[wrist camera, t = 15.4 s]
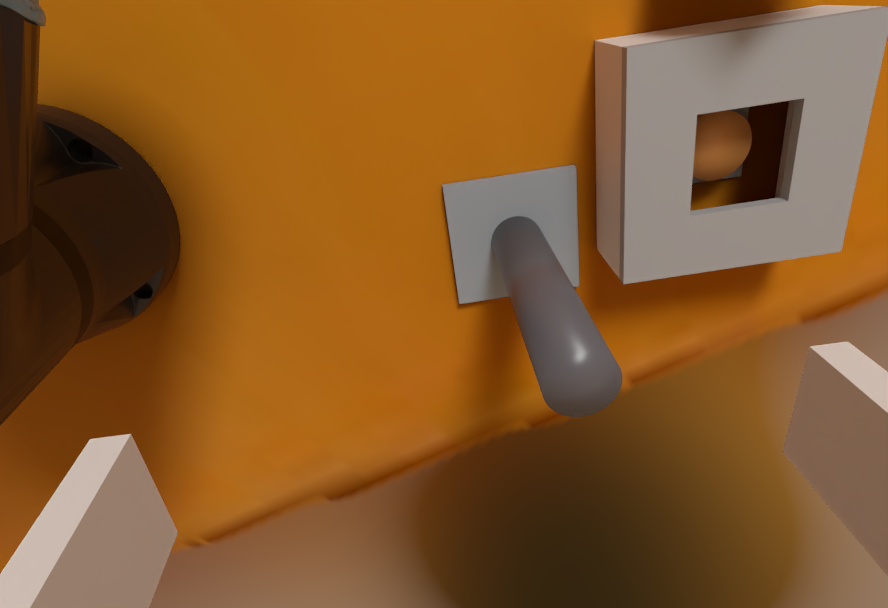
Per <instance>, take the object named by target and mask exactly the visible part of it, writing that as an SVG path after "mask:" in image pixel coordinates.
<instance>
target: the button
mask: <svg viewBox="0 0 888 608" xmlns="http://www.w3.org/2000/svg"><path fill="white" fill-rule="evenodd" d="M751 143H752V132H751V128H750V125H749V123H748V121H747V120H746V119H745V118H744V117H743V116H742V115H741V114H739V113H737V112H734V111H731V110H725V111H718V112H712V113H705V114H699V115H697V125H696V138H695V152H694V166H693V176H694V177H696V178H698V179H701V180H706V181H712V180H718V179H721V178H724V177H726V176H728V175H729V174H731V173H732V172H734V171H735V170H736V169H737V168H738V167H739V166H740V165H741V164H742V163H743V161H744V160H745V158H746V157H747V155H748V153H749V150H750V147H751Z"/></svg>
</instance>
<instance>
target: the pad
mask: <svg viewBox="0 0 888 608" xmlns="http://www.w3.org/2000/svg"><path fill="white" fill-rule="evenodd" d="M442 187H443V194H444V201H445V208H446V215H447V222H448V229H449V236H450V243H451V250H452V257H453V264H454V271H455V278H456V285H457V292H458V299H459V304H464V303H470V302H477V301H484V300H490V299H497V298H503V297H509V295H508V292H507V289H506V287H505V284H504V281H503V278H502V275H501V272H500V269H499V266H498V263H497V260H496V257H495V254H494V252H493V249H492V243H491V240H492V235H493V232H494V230H495V229H496V227H497V226H498V225H499V224H500V223H501V222H502V221H504V220H506V219H508V218H511V217H515V216H523V217H527V218H530V219H532V220H533V221H534V222H535V223H536V224H537V225H538V226H539V228H540V229H541V231H542V233H543V235H544V236H545V238H546V240H547V242H548V243H549V245H550V247H551V249H552V250H553V252H554V254H555V256H556V257H557V259H558V261H559V263H560V264H561V266H562V268H563V270H564V271H565V273H566V275H567V277H568V278H569V280H570V282H571V283H572V285H573V287H576V286H579V254H578V216H577V178H576V166H575V165H568V166H561V167H554V168H548V169H541V170H535V171H528V172H522V173H515V174H509V175H502V176H496V177H489V178H483V179H476V180H470V181H463V182H457V183H450V184H444V185H442Z"/></svg>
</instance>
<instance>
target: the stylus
mask: <svg viewBox="0 0 888 608" xmlns="http://www.w3.org/2000/svg"><path fill="white" fill-rule="evenodd" d="M491 243H492V249H493V252H494V254H495V257H496V260H497V263H498V266H499V269H500V272H501V275H502V278H503V281H504V284H505V287H506V289H507V292H508V295H509V298H510V301H511V304H512V307H513V310H514V313H515V316H516V319H517V322H518V325H519V327H520V330H521V333H522V336H523V339H524V342H525V345H526V348H527V351H528V354H529V357H530V360H531V362H532V365H533V368H534V371H535V374H536V377H537V380H538V383H539V386H540V389H541V392H542V395H543V398H544V400H545V402H546V403H547V405H548V406H549V407H550V408H551V409H552V410H554V411H555V412H557V413H559V414H562V415H565V416H571V417H581V416H587V415H591V414H594V413H596V412H598V411H600V410H602V409H604V408H605V407H607V406H608V405H609V404H610V403H611V402H612V401H613V400H614V399H615V398H616V396H617V395H618V393H619V391H620V388H621V385H622V373H621V370H620V367H619V365H618V364H617V362H616V360H615V359H614V357H613V355H612V353H611V352H610V350H609V348H608V346H607V345H606V343H605V341H604V339H603V338H602V336H601V334H600V332H599V331H598V329H597V327H596V325H595V324H594V322H593V320H592V318H591V317H590V315H589V313H588V311H587V310H586V308H585V306H584V304H583V303H582V301H581V299H580V297H579V296H578V294H577V292H576V290H575V289H574V287H573V285H572V283H571V282H570V280H569V278H568V277H567V275H566V273H565V271H564V270H563V268H562V266H561V264H560V263H559V261H558V259H557V257H556V256H555V254H554V252H553V250H552V249H551V247H550V245H549V243H548V242H547V240H546V238H545V236H544V235H543V233H542V231H541V229H540V228H539V226H538V225H537V224H536V223H535V222H534V221H533V220H532V219H530V218H527V217H523V216H515V217H511V218H508V219H506V220H504V221H502V222H501V223H500V224H499V225H498V226H497V227H496V229H495V230H494V232H493V235H492V240H491Z"/></svg>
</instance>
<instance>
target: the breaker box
mask: <svg viewBox="0 0 888 608" xmlns="http://www.w3.org/2000/svg"><path fill="white" fill-rule="evenodd" d="M887 35H888V7H885V6H844V5H819V6H812V7H806V8H800V9H793V10H787V11H780V12H774V13H767V14H761V15H755V16H748V17H742V18H735V19H729V20H722V21H716V22H710V23H703V24H697V25H690V26H684V27H677V28H671V29H665V30H658V31H652V32H645V33H639V34H632V35H626V36H620V37H613V38H607V39H600V40H595V123H596V226H597V250H598V251H599V253H600V254H601V255H602V257H603V258H604V259H605V261H606V262H607V263H608V265H609V266H610V267H611V269H612V270H613V271H614V273H615V274H616V275H617V276H618V278H619V279H620V280H621V282H622V283H623V284H629V283H636V282H642V281H649V280H656V279H662V278H669V277H676V276H682V275H689V274H696V273H702V272H709V271H715V270H722V269H729V268H735V267H742V266H749V265H755V264H762V263H769V262H775V261H782V260H788V259H795V258H802V257H808V256H815V255H822V254H828V253H835V252H841V250H842V246H843V241H844V236H845V232H846V227H847V222H848V218H849V213H850V208H851V204H852V199H853V194H854V190H855V185H856V180H857V176H858V171H859V166H860V162H861V157H862V152H863V147H864V143H865V138H866V133H867V129H868V124H869V119H870V115H871V110H872V105H873V101H874V96H875V91H876V87H877V82H878V77H879V73H880V68H881V63H882V59H883V54H884V49H885V45H886V40H887ZM783 101H789V105H788V112H787V119H786V125H785V132H784V139H783V146H782V153H781V160H780V166H779V173H778V180H777V187H776V194H775V198H772V199H765V200H759V201H752V202H745V203H739V204H732V205H726V206H719V207H713V208H706V209H699V210H693V211H690V207H691V193H692V183H699V182H705V181H706V180H701V179H698V178H696V177H694V176H693V166H694V152H695V138H696V125H697V115H699V114H705V113H712V112H718V111H725V110H731V111H734V112H737V113H739V114H741V115H742V116H743V117H744V118H745V119H746V120H747V121H748V113H749V107H751V106H757V105H764V104H770V103H777V102H783ZM742 165H743V163H742V164H741V165H740V166H739V167H738V168H737V169H736V170H735V171H734V172H732V173H731V174H729V175H728V176H726V177H724V178H721V179H725V178H731V177H738V176H741V174H742Z"/></svg>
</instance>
